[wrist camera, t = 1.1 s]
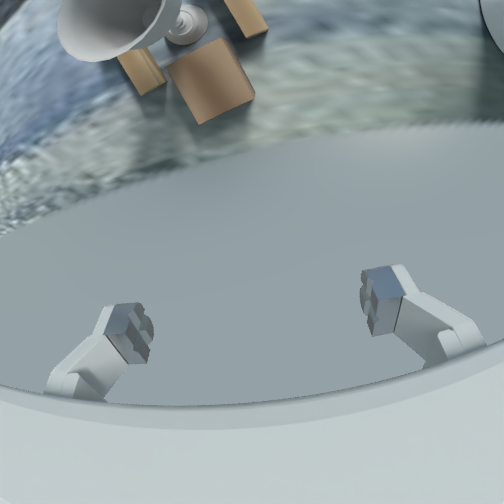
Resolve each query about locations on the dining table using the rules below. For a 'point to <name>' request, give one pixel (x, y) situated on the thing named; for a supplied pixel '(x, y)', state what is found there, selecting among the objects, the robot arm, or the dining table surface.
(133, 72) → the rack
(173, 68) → the walnut block
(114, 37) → the chalice
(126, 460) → the robot arm
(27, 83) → the dining table surface
